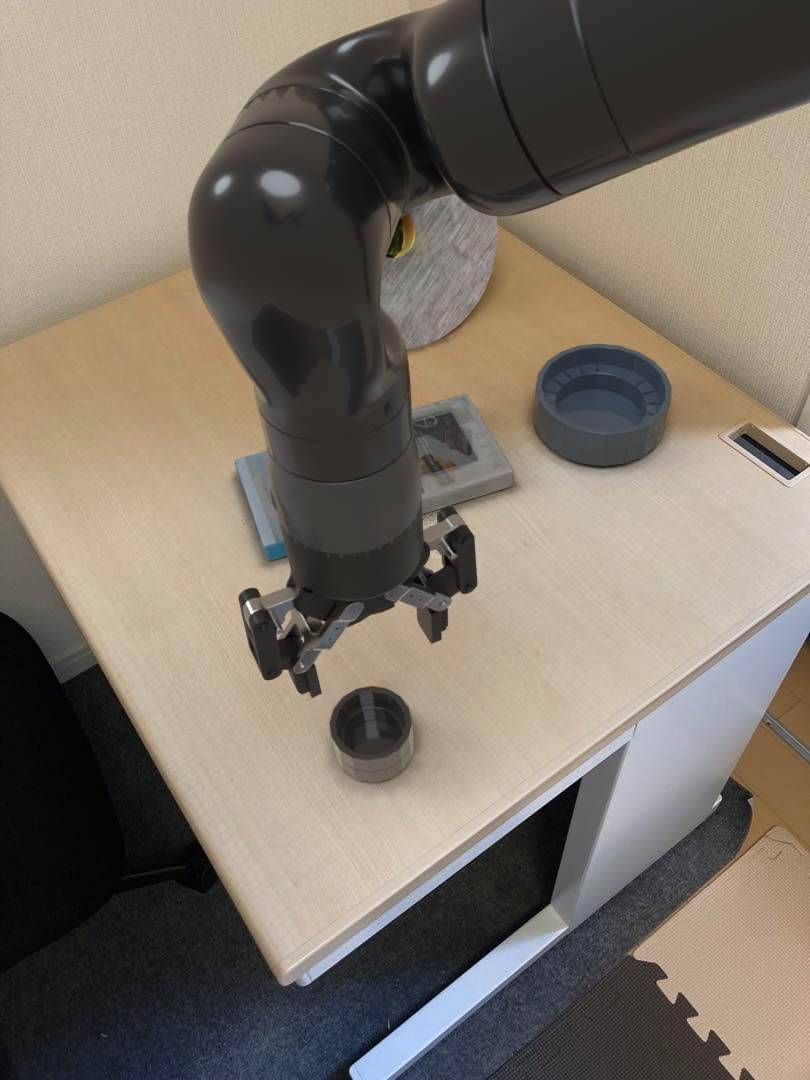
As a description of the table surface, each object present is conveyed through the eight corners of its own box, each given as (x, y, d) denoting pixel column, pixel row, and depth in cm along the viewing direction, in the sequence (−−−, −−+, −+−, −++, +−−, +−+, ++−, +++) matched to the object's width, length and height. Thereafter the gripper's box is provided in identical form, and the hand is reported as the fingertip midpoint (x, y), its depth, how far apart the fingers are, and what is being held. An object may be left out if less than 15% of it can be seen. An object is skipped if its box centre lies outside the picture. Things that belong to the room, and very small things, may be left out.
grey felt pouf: (494, 310, 118) (419, 121, 113) (542, 293, 101) (457, 70, 96) (320, 388, 115) (234, 197, 109) (339, 385, 98) (239, 159, 92)
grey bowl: (665, 387, 97) (674, 350, 93) (659, 477, 89) (668, 441, 85) (541, 374, 99) (545, 337, 95) (525, 460, 91) (528, 424, 87)
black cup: (420, 721, 74) (418, 693, 70) (404, 792, 70) (401, 767, 67) (347, 707, 75) (341, 680, 71) (327, 777, 71) (320, 752, 68)
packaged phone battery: (514, 469, 87) (262, 546, 83) (513, 487, 89) (267, 563, 85) (467, 391, 94) (233, 458, 90) (467, 409, 96) (238, 475, 92)
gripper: (242, 599, 43) (292, 752, 55) (505, 490, 46) (495, 657, 59) (193, 494, 47) (249, 659, 60) (437, 402, 50) (441, 575, 63)
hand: (371, 658), depth 59 cm, fingers open, 8 cm apart
